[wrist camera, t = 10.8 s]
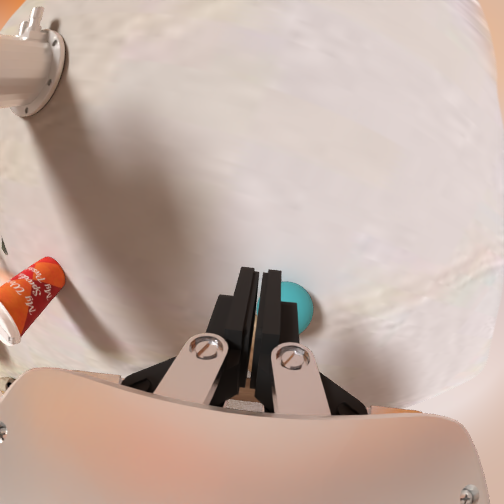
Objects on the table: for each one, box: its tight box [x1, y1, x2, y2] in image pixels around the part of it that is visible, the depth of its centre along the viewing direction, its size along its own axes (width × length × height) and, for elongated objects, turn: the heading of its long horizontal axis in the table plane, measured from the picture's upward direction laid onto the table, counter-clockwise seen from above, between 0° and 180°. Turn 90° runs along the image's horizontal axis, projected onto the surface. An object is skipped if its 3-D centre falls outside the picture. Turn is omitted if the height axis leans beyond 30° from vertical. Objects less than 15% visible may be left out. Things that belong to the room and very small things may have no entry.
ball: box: [257, 282, 313, 334], centre depth 29 cm, size 6×6×6 cm
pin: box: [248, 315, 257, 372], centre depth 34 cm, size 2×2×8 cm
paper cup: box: [0, 257, 65, 346], centre depth 29 cm, size 8×8×14 cm
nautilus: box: [0, 377, 15, 394], centre depth 57 cm, size 8×22×15 cm
